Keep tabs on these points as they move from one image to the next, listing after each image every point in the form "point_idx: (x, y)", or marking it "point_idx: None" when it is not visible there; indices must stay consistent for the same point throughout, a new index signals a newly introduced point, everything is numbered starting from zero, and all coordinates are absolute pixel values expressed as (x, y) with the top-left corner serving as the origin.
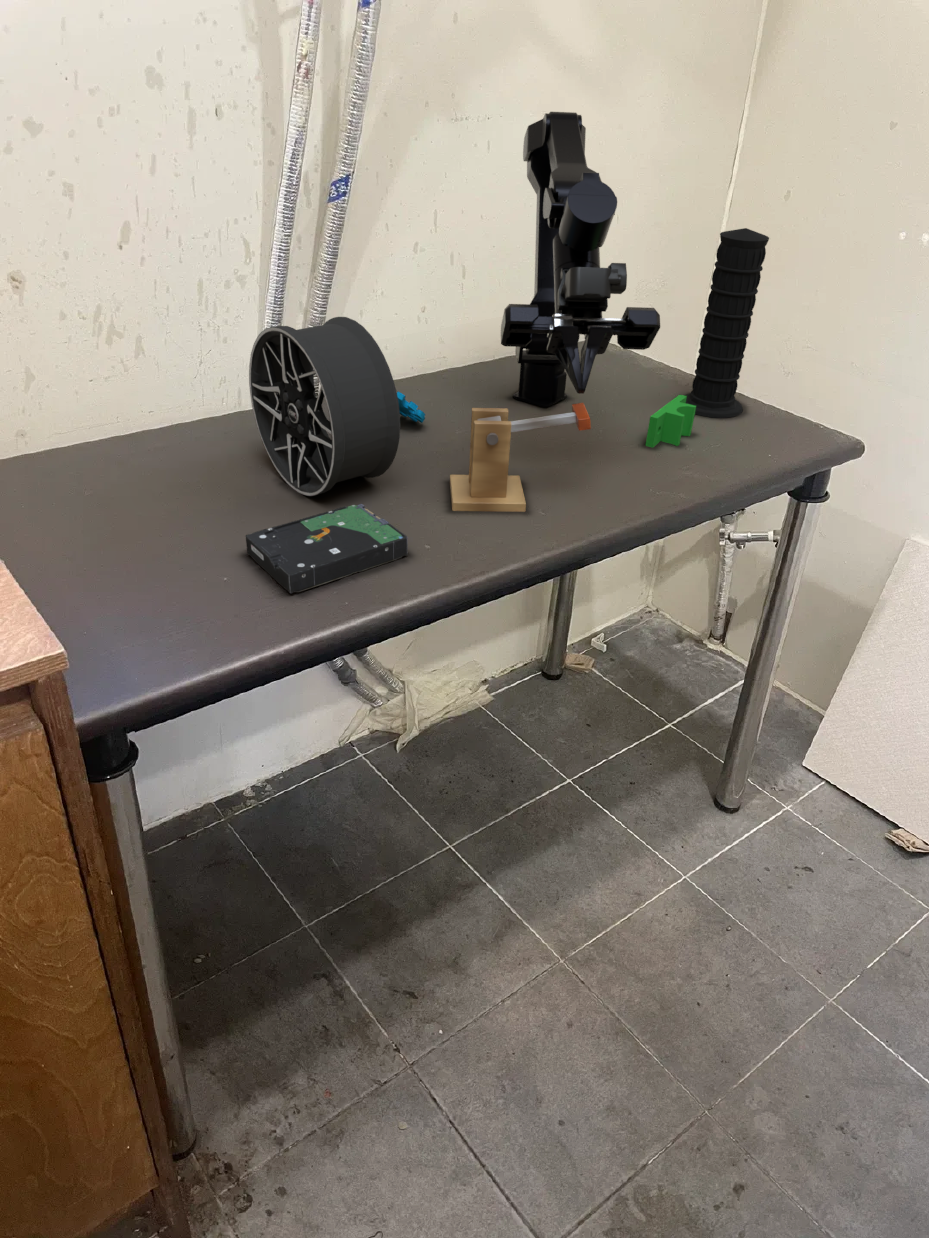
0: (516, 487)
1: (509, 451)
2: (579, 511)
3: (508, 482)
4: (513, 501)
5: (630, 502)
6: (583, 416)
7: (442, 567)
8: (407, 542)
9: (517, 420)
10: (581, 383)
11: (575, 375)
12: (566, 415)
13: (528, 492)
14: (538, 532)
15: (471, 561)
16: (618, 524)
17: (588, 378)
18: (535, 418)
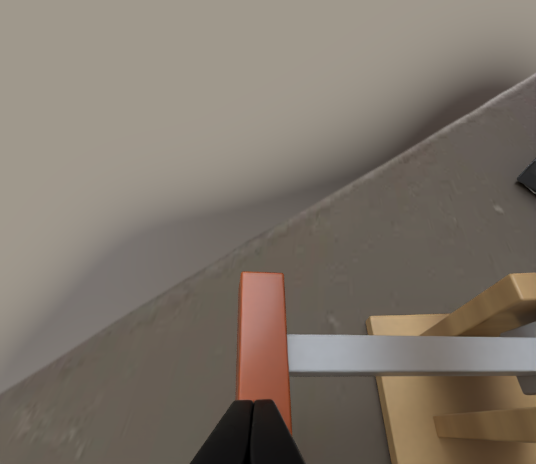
0: (398, 393)
1: (462, 306)
2: None
3: (421, 422)
4: (395, 323)
5: (151, 379)
6: (262, 291)
7: (459, 167)
8: (529, 166)
9: (501, 367)
10: (256, 418)
11: (299, 458)
12: (321, 345)
13: (365, 420)
14: (338, 255)
15: (425, 180)
16: (202, 287)
17: (203, 445)
18: (437, 361)
